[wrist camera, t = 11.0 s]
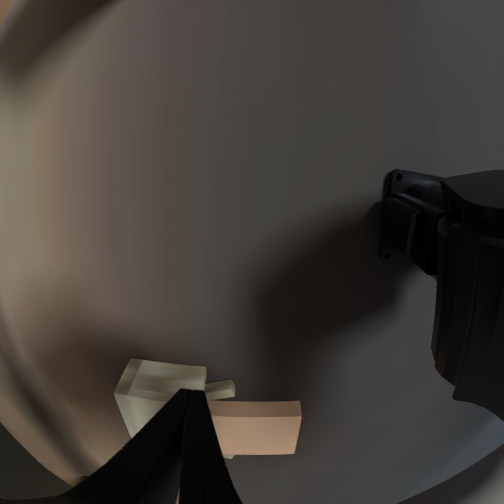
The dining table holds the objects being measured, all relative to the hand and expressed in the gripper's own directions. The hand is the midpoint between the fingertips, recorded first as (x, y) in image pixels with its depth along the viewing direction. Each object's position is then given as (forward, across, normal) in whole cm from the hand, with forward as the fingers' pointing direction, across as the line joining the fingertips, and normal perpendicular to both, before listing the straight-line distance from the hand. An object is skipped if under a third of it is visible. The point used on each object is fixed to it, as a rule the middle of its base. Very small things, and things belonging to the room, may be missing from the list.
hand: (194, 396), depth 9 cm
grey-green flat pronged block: (+12, +4, +17) cm, 21 cm away
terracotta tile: (+12, 0, +17) cm, 21 cm away
